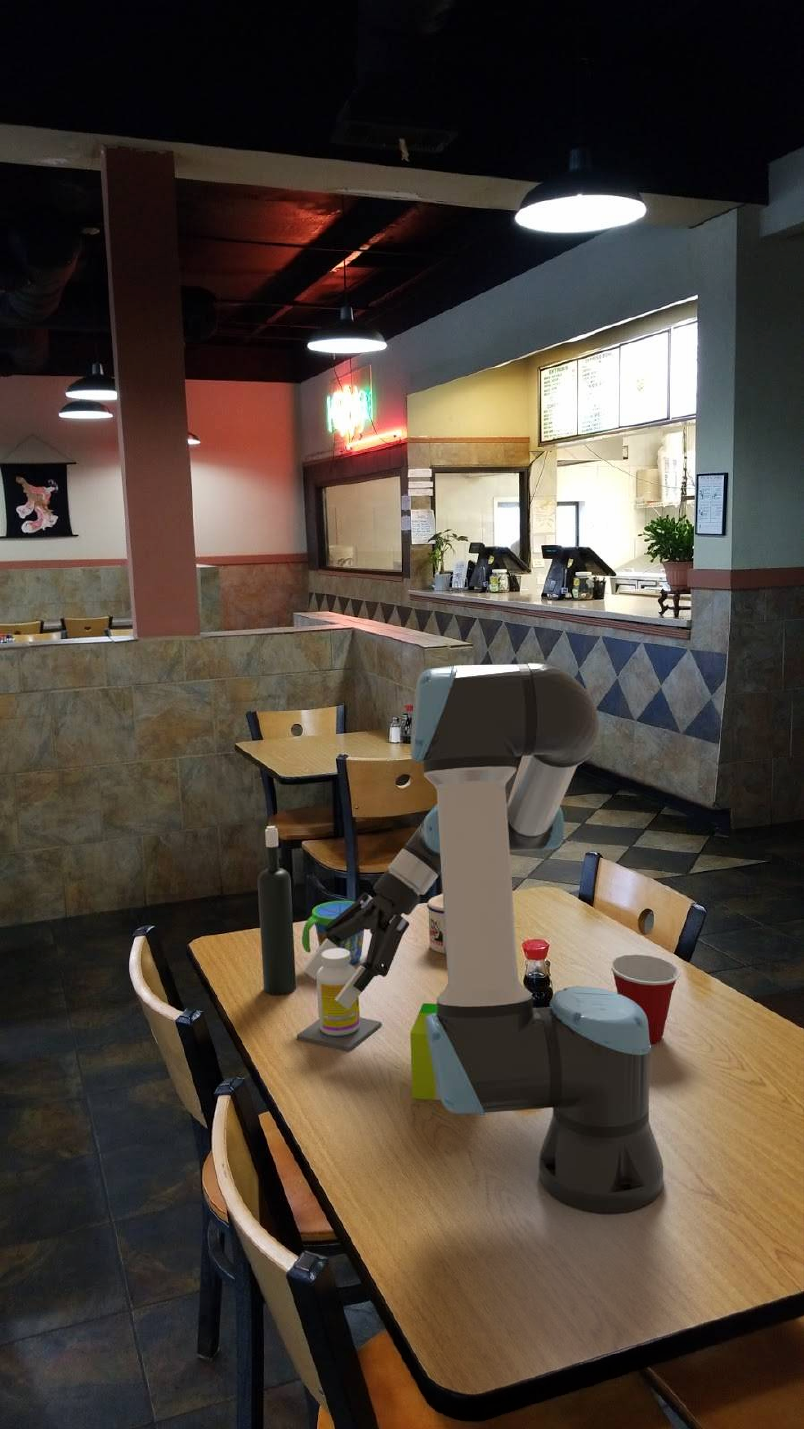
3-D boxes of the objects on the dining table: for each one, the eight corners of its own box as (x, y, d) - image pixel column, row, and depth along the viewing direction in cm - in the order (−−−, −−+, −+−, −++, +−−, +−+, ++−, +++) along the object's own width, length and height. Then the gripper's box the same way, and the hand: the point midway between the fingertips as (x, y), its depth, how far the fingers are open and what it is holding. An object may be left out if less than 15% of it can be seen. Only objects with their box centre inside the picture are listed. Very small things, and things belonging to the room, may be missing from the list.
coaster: (349, 1051, 169) (349, 1047, 169) (296, 1038, 174) (296, 1035, 174) (381, 1025, 178) (381, 1021, 177) (330, 1014, 182) (330, 1010, 182)
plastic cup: (677, 1057, 163) (677, 982, 161) (605, 1048, 167) (605, 975, 165) (682, 1026, 173) (683, 955, 172) (615, 1018, 177) (614, 949, 175)
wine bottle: (302, 986, 194) (294, 824, 189) (282, 998, 190) (273, 832, 185) (278, 980, 197) (269, 821, 193) (257, 991, 193) (247, 828, 188)
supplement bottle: (365, 1032, 174) (362, 956, 172) (326, 1040, 171) (322, 964, 169) (352, 1016, 180) (348, 942, 178) (314, 1024, 177) (310, 950, 175)
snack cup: (366, 943, 214) (364, 894, 212) (390, 960, 205) (388, 909, 203) (293, 959, 207) (290, 908, 205) (314, 978, 198) (311, 925, 196)
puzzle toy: (482, 1103, 152) (480, 1037, 151) (412, 1098, 154) (410, 1033, 153) (490, 1069, 162) (489, 1006, 160) (425, 1065, 164) (423, 1003, 162)
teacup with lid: (422, 941, 214) (420, 884, 212) (465, 935, 216) (464, 879, 215) (441, 963, 203) (440, 903, 201) (487, 956, 205) (485, 897, 203)
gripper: (456, 918, 168) (373, 1030, 164) (386, 876, 190) (311, 974, 186) (425, 891, 165) (339, 1005, 161) (357, 852, 187) (280, 951, 183)
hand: (324, 989), depth 173 cm, fingers open, 13 cm apart
